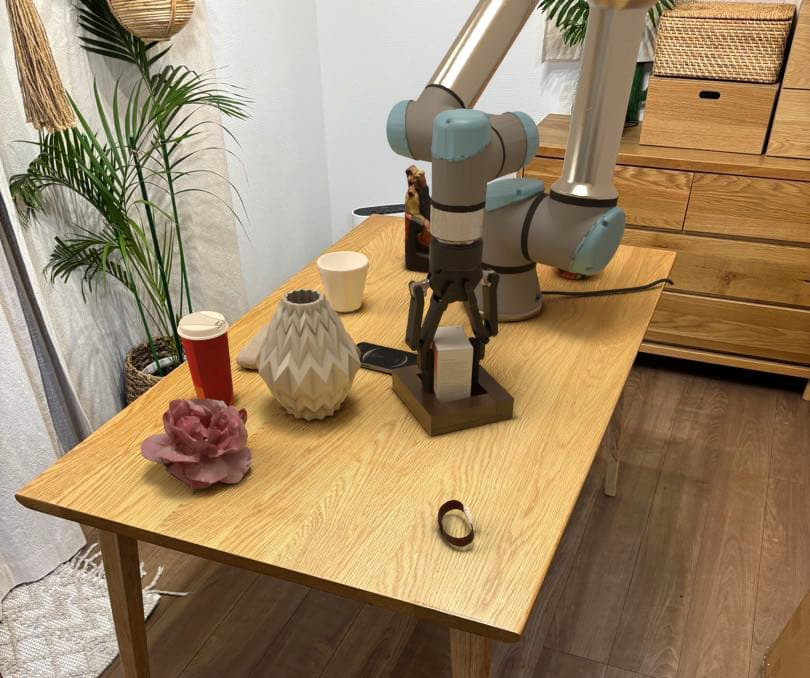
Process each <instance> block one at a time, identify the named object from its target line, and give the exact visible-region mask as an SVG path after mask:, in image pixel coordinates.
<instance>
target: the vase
mask: <svg viewBox="0 0 810 678" xmlns="http://www.w3.org/2000/svg"><path fill="white" fill-rule="evenodd" d="M269 323H270V324H269ZM269 323H268V324H269V328H268V332H267V335H266V337H265V339H264V340H263V342H262V344H261V347H260V349H259V352H258V354H257V357H256V359H255V363H256V365H257V367H258V369H257V370H258V376H260V378H261V379H262V380H263V382H265V384H266V386H267V388H268V389H269V391H270V393H271V395H272V396H273V397H274V398H275V400H277V401H278V403H279V404H280V405H281V406H282V407H283V408H285V409H286V412H287V414H288V415H294V418H295V420H296V419H305V420H306V421H308V422H309V421H311V420H313V419H317V420H324V418H325V417H328V416H334V413H335V411H338V410H340V409H341V403H344V401H345V399H346V397H347V396H348V394H349V393H350V391H351V390H352V387H353V384H354V381H355V379H356V375H357V373H358V372H359V370H360V369H361V367H362V366H361V363H360V360H359V359H360V355H361V352H360V350H359V349H358V347H357V346H356V344H357V343H356V342H355V341H354V339H353V338H352V336H351V335H350V333H349V332H348V331H347V330H346V328H345V326H344V324H343V322H342V319H341V318H340V316H339V314H338V312H336V311H335V310H334V309H332V307H331V306H330V304H329V302H328V299H327V297H326V293H322V292H321V290H319V289H318V290H314V288H312V287H311V288H307V289H305V288H303V287H301V288H299V289H291V290H290V292H284V293H283V296H281V297H280V302H278V304H277V308H276V311H275V312H274V313H273V315H271V317H270V321H269Z"/></svg>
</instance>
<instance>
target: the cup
mask: <svg viewBox="0 0 810 678" xmlns="http://www.w3.org/2000/svg"><path fill="white" fill-rule="evenodd" d="M369 268H370V260H369V257H368V256H367V255H365V254H363V253H360V252H355V251H347V250H344V251H343V250H342V251H341V250H340V251H332V252H328V253H325V254H323V255H321V256H319V257H318V259H317V260H316V269H317V271H318V273H319V277H320V279H321V283H322V286H323V289H324V292H325V293H324V294H325V297H326V300H328V302H329V304H330V306H331V307H332V309H334V310H335V311H336V312H337V313H341V314H348V313H353V312H357V311H358V310H360V308H361V307H362V303H363V299H364V298H363V297H364V294H365V293H364V292H365V287H366V282H367V277H368V271H369Z"/></svg>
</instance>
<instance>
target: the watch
mask: <svg viewBox="0 0 810 678" xmlns="http://www.w3.org/2000/svg"><path fill="white" fill-rule="evenodd" d="M454 510H456V511H457V510H458V511H461V512H462V513H463V514H464V515H465V518H466V519H465V520H466V522H467V524H468V526H469V529H470V532H469V533H468V534H466V535H465V536H462V537H455V536H452V535H450V534H448V533H447V532H446V531H445V529H444V523H443V518H444V516H445V515H446V514H447V513H449V512H450V511H454ZM473 519H474V518H473V515H472V513H471V511H470V508H469V507H468V506H465V505H464V504H463V502H462V501H460V500H457V499H450V500H447V501H446V502H444V503H443V504H442V505H441V506H440V507H439V509H438V512H437V524H438V526H439V530H440V533H441V535H442V536H444V539H445V540H446V541H447V542H448V543H449V544H450V545H452V546H455V547H459V548H461V547H462V548H463V547H466V546H469V545H470V544H471V543H472V542H473V541H474V539H475V531H477V529H476V525H475V522H474V520H473Z"/></svg>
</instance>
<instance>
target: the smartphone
mask: <svg viewBox="0 0 810 678" xmlns="http://www.w3.org/2000/svg"><path fill="white" fill-rule="evenodd" d="M355 344H356V346H357V347H358V349H359V350H360V352H361V355H360V359H359V360H360V363H361V366H360V367H362V368H367V369H370V370H375V371H379V372H384V373H387V374H392V369H397V368H402V367H407V366H412V365H417V352H413V351H407V350H403V349H398V348H394V347H390V346H385V345H381V344H375V343H372V342H367V341H359V342H358V343H355Z"/></svg>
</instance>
